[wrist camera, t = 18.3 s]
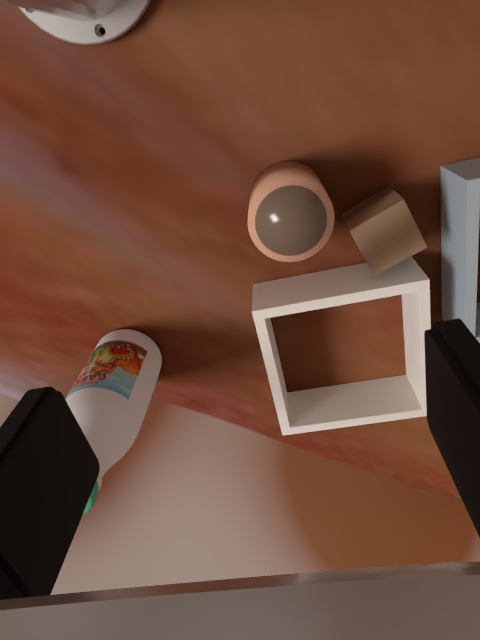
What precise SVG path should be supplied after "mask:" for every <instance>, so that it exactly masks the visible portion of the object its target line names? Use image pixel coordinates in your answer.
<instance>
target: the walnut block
mask: <svg viewBox="0 0 480 640" xmlns="http://www.w3.org/2000/svg"><path fill="white" fill-rule="evenodd" d="M341 216H342V218H343V220H344V222H345V224H346V226H347V228H348V230H349V232H350V233H351V235H352V237H353V239H354V241H355V242H356V244H357V246H358V248H359V249H360V251H361V253H362V255H363V256H364V258H365V260H366V262H367V263H368V265H369V267H370V269H371V270H372V272H373V274H374V276H375V275H377V274H379V273H381V272H383V271H384V270H386V269H388V268H390V267H392V266H394V265H396V264H397V263H399V262H401V261H403V260H405V259H407V258H409V257H410V256H412V255H414V254H416V253H418V252H420V251H422V250H424V249H425V248H427V245H426V243H425V241H424V239H423V237H422V235H421V233H420V231H419V229H418V227H417V225H416V223H415V221H414V219H413V217H412V215H411V213H410V211H409V209H408V207H407V205H406V203H405V201H404V199H403V198H402V197H401V196H400V195H399V194H398V193H397V192H396V191H395V190H393V189H392V188H391V187H390V186H387V187H386V188H384V189H382V190H381V191H379V192H377V193H376V194H374V195H372V196H371V197H369V198H367V199H366V200H364V201H362V202H361V203H359V204H357V205H356V206H354V207H352V208H351V209H349V210H347V211H346V212H344V213H342V214H341Z"/></svg>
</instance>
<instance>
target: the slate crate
mask: <svg viewBox="0 0 480 640" xmlns="http://www.w3.org/2000/svg"><path fill="white" fill-rule="evenodd" d="M479 217H480V157H479V158H474V159H470V160H465V161H460V162H456V163H451V164H447V165H442V166H441V292H442V318H443V320H444V321H446V320H452V319H461V320H462V321H463V323H464V324H465V325H466V326H467V328H468V329H469V330H470V331H471V333H472V334H473V335H474V337H475V338H476V339H477V340H478V342H479V343H480V303H476V301H477V273H478V245H479Z"/></svg>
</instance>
